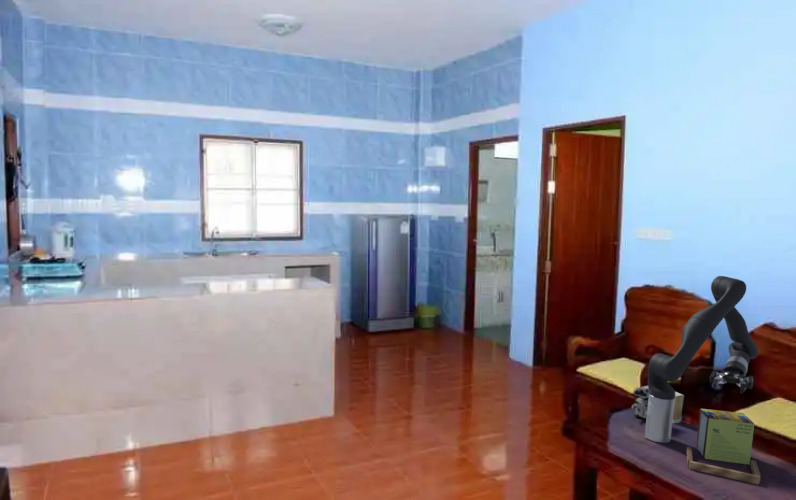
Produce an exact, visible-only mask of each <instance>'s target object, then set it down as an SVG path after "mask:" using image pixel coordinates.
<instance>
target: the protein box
mask: <svg viewBox="0 0 796 500" xmlns="http://www.w3.org/2000/svg"><path fill="white" fill-rule="evenodd" d="M698 416H699V417H698V419H699V420H698V426H697V435H696V437H697V438H696V444H695V445H696V446H695V448H696V447H697V448H696V449H697V451H698V452H699V454H700V455H701V456H702V458H703V459H704V458H705V460H712V461H720V462H727V463H734V464H740V465H741V464H742V465H747V464H748V465H751V458H752V457H751V455H752V448H753V439H754V429H755V423H754V422H753V421H752V419H750V418H749V417H748V416H747V415H746V414H745V413H744V412H743V413H742V412H734V411H728V410H727V411H726V410H716V409H707V408H700V409H699V415H698Z"/></svg>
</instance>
